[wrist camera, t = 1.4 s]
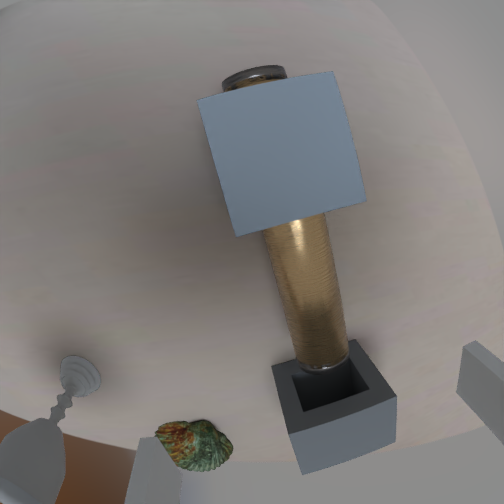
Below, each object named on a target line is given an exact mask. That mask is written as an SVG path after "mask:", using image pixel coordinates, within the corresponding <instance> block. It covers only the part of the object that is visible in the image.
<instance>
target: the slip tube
mask: <svg viewBox="0 0 504 504" xmlns="http://www.w3.org/2000/svg"><path fill="white" fill-rule="evenodd" d="M282 79H287V75H286V72H285V69H284V67H282V66H278V65H268V66H260V67H255V68H251V69H247V70H244V71H241V72H239V73H236V74H234V75H232V76H230V77H228V78H227V79H225V80H224V81H223V82H222V87H223V91H224V92H228V91H232V90H236V89H240V88H244V87H248V86H253V85H257V84H262V83H267V82H272V81H277V80H282ZM263 233H264V237H265V241H266V244H267V248H268V252H269V255H270V259H271V263H272V267H273V270H274V274H275V278H276V282H277V285H278V289H279V293H280V297H281V301H282V304H283V308H284V312H285V316H286V320H287V324H288V327H289V331H290V335H291V339H292V343H293V347H294V351H295V355H296V359H297V362H298V366H299V368H300V369H301V370H302V371H303V372H305V373H308V374H312V375H324V374H328V373H332V372H334V371H336V370H338V369H340V368H341V367H343V366H344V365H345V364H346V363H347V361H348V359H349V356H350V353H349V346H348V339H347V333H346V326H345V320H344V314H343V308H342V302H341V296H340V291H339V285H338V280H337V274H336V269H335V264H334V259H333V254H332V249H331V244H330V239H329V235H328V230H327V225H326V221H325V216H324V213H320V214H317V215H313V216H310V217H306V218H302V219H299V220H295V221H292V222H288V223H285V224H281V225H278V226H274V227H270V228H267V229H263Z"/></svg>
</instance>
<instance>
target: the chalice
mask: <svg viewBox="0 0 504 504" xmlns="http://www.w3.org/2000/svg"><path fill="white" fill-rule="evenodd" d="M60 381H61V384H62V386H63V388H64V389H65V393H64V394H62V395H58V396H57V401H58V405H56V406H55V407H52V408H51V416H50V418H49V419H45V418H39V419H36V420H34V421H32V422H29V423H27V424H25V425H23V426H20V427H18V428H17V429H15V430H14V431H12V432H10V433H9V434H7V435H6V436H5V438H4V439H3V441H2V442H1V444H0V502H2V503H3V504H54V503H55V501H56V498H57V495H58V493H59V490H60V488H61V485H62V482H63V480H64V477H65V450H64V443H63V434H62V431H61V430H60V428H59V427H58V426H57V423H58V422H59V421H60V420H61V419H63V418H65V413H64V412H65V409H66V408H70V407H71V406H72V401H71V399H72V396H75V397H85V396H87V395H88V394H90V393H92V392H93V391H96V390H97V389H98V388H99V387H100V383H101V379H100V375H99V373H98V371H97V369H96V368H95V367H94V366H93V365H92V364H91V363H90V362H89V361H87V360H86V359H83V358H81V357H78V356H68V357H66V358H64V359H63V361H62V362H61V371H60Z"/></svg>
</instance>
